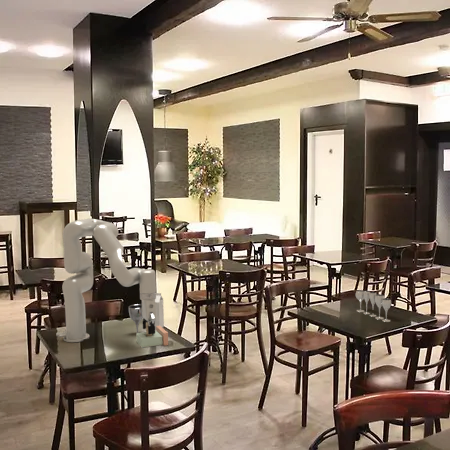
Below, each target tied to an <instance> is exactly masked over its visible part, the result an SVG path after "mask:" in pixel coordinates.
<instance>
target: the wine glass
mask: <svg viewBox="0 0 450 450" xmlns="http://www.w3.org/2000/svg"><path fill="white" fill-rule="evenodd" d="M128 313H129V317H130V319H131V320H132V322H133V323H135V326H136V328H135V329H136V333H139V326H140V323H141V321H143V317H142V304H140V303H139V304H138V303H137V304H131V305H129V306H128Z"/></svg>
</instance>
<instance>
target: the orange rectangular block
mask: <svg viewBox="0 0 450 450" xmlns="http://www.w3.org/2000/svg"><path fill="white" fill-rule="evenodd" d="M155 331H157V332H158V333H159V334H160V335H161V336H162V341H163V345H162V346H168V345H169V332H168V331H166V330H165V328H164V327H163V328H162V327H161V326H156V330H155Z"/></svg>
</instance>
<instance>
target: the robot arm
mask: <svg viewBox="0 0 450 450" xmlns="http://www.w3.org/2000/svg"><path fill="white" fill-rule="evenodd" d="M90 236H93V238H94V239H95V241H96V243H98V245H99V247H100V248H101V249H102V251H103V252H104V253H105V255H106V256H107V258H108V264H109V268H110V270H111V274H112V275H113V276H114V277H115V279H116V280H117V281H118V283H119V285H121V286H122V287H126V288H129V287H132V286H134V285H138V284H139V300H141V305H142V317H143V319H142V329H143V330H146V322H148V324H149V326H148V334H155V331H156V330H155V320H156V319H157V314H156V303H155V299H156V293H157V283H156V282H157V281H156V279H157V277H156V276H157V275H156V270H154V269H149V268H147V269H144V268H140V267H133V268H130V269H128V268H127V267H126V265H125V263H124V262H123V257H122V256H123V253H124V248H125V247H124V246H123V244H122V243H121V242H120V240H119V239H118V238H117V237H118V236H119V228H118V226H117V225H116V224H114V223H112V222H110V221H105V220H100V219H95V218H84V219H78V220H73V221H71V222H69V223H68V224H66V225H65V227H64V228H63V231H62V242H63V243H62V244H63V262H64V264H63V265H64V270H65V272H67V273H68V274H73V275H72V276H69V277H67V278H66V279H65V280H64V281H63V282H62V287H61V288H62V294H63V299H64V309H65V312H64V313H65V329H64V331H62V332H60V331H59V332H56V338H58V337H59V338H63V341H64V342H66V343H80V342H84V340H88V339H90V334H89V333H87V324H86V323H87V322H86V321H87V320H86V317H87V316H86V301H85V299H84V296H83V293H85V292H88V291H90V290H91V289H92V288H93V285H94V263H93V259H92V256H91V255H90V254H89V253H88V252H86V251H83V247H82V242H81V240H80V239H81V238H85V237H86V238H87V237H90ZM74 274H75V275H74ZM150 321H151V322H150Z"/></svg>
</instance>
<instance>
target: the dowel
mask: <svg viewBox="0 0 450 450" xmlns="http://www.w3.org/2000/svg"><path fill="white" fill-rule="evenodd" d="M148 326H149V324H148V322H146V329H145V332H146V337H148V336H152V334H148Z"/></svg>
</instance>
